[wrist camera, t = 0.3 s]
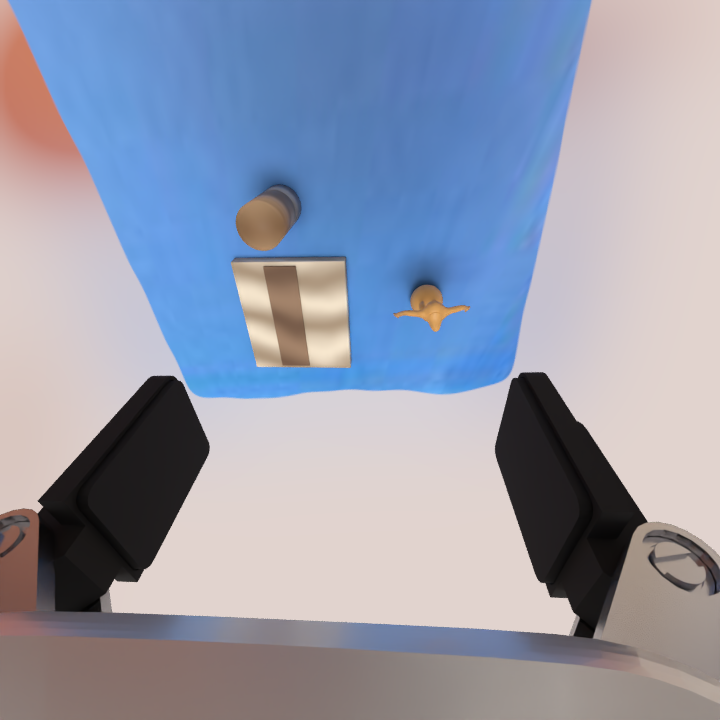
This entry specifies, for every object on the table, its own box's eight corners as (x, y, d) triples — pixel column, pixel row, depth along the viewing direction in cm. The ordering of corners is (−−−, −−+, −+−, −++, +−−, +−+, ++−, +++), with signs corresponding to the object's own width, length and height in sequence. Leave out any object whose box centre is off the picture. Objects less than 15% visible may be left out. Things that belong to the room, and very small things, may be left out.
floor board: (235, 258, 44) (230, 263, 42) (345, 256, 43) (344, 262, 41) (260, 360, 53) (256, 367, 51) (351, 361, 52) (350, 368, 51)
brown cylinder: (259, 185, 38) (230, 202, 31) (298, 184, 38) (278, 201, 31) (266, 226, 41) (241, 251, 34) (303, 225, 41) (286, 250, 33)
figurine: (394, 310, 47) (397, 363, 37) (390, 267, 43) (392, 313, 33) (457, 304, 46) (477, 357, 36) (458, 260, 42) (480, 304, 32)
